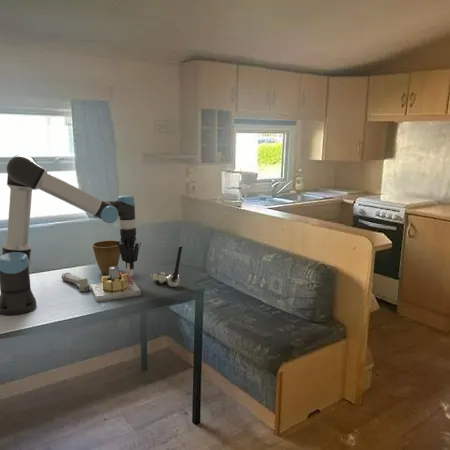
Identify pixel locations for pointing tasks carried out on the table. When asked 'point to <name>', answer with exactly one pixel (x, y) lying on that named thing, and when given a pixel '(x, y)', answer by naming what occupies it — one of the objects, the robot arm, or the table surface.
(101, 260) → the plant pot
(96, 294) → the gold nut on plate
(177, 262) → the butterfly valve
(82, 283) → the white handheld device
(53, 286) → the table surface
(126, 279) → the yellow valve with lever
